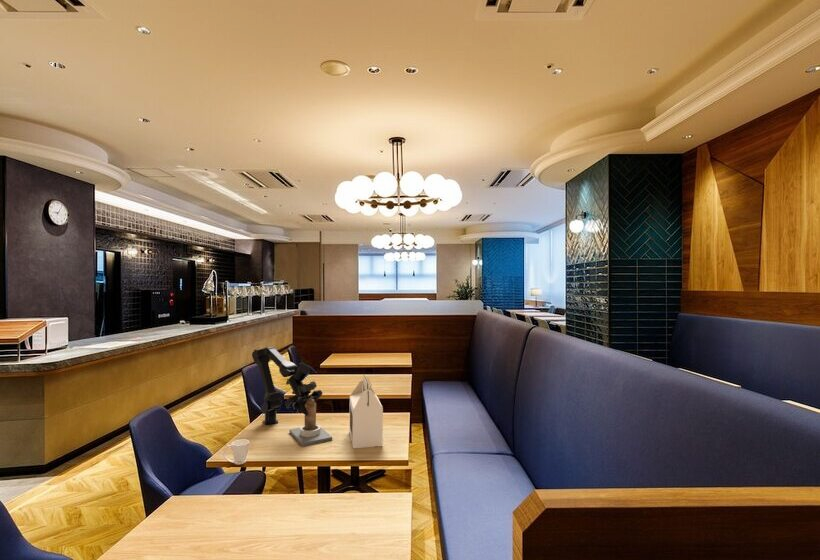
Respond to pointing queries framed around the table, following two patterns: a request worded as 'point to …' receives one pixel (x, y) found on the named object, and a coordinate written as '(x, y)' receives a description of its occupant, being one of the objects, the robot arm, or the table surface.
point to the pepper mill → (310, 414)
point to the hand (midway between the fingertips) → (312, 413)
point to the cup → (238, 451)
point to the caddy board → (311, 439)
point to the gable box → (365, 416)
